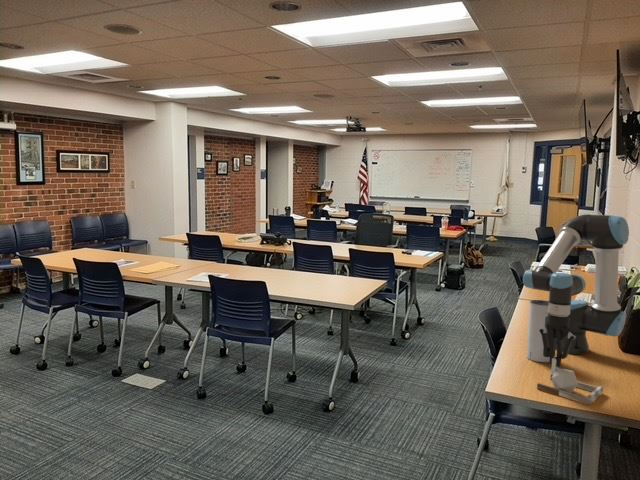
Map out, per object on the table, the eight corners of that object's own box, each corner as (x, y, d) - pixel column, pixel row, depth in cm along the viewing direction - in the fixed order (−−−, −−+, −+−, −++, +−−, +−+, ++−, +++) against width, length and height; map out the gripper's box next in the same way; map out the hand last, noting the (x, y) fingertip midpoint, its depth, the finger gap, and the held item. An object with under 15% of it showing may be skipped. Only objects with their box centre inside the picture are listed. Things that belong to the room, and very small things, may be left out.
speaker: (536, 363, 212) (540, 305, 209) (520, 355, 222) (524, 299, 219) (557, 361, 215) (561, 303, 212) (540, 353, 225) (544, 298, 222)
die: (579, 392, 185) (567, 366, 189) (585, 389, 177) (572, 362, 182) (557, 398, 186) (545, 372, 190) (561, 396, 178) (549, 369, 183)
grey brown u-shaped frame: (551, 378, 196) (552, 371, 195) (602, 393, 182) (603, 385, 182) (536, 388, 186) (537, 381, 186) (589, 405, 173) (590, 397, 172)
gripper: (537, 312, 187) (533, 371, 190) (573, 319, 178) (568, 382, 180) (545, 309, 192) (541, 366, 195) (580, 316, 183) (575, 376, 185)
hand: (554, 374), depth 188 cm, fingers closed
